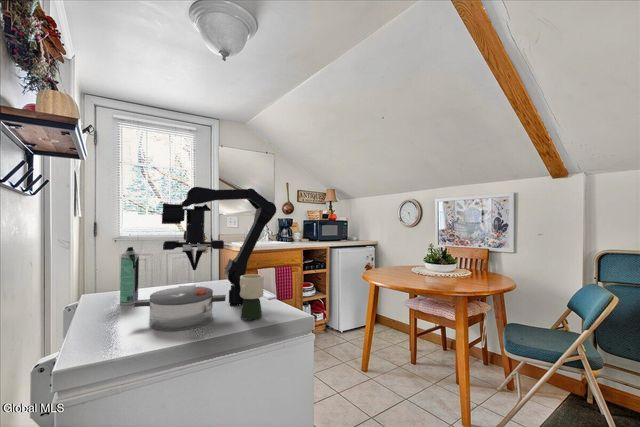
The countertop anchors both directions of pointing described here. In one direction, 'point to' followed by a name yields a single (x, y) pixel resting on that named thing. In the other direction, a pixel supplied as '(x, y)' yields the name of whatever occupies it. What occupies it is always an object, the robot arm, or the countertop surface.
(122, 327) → the countertop surface
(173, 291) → the cooker lid
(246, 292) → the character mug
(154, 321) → the cooker pot
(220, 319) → the countertop surface
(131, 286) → the spray can
